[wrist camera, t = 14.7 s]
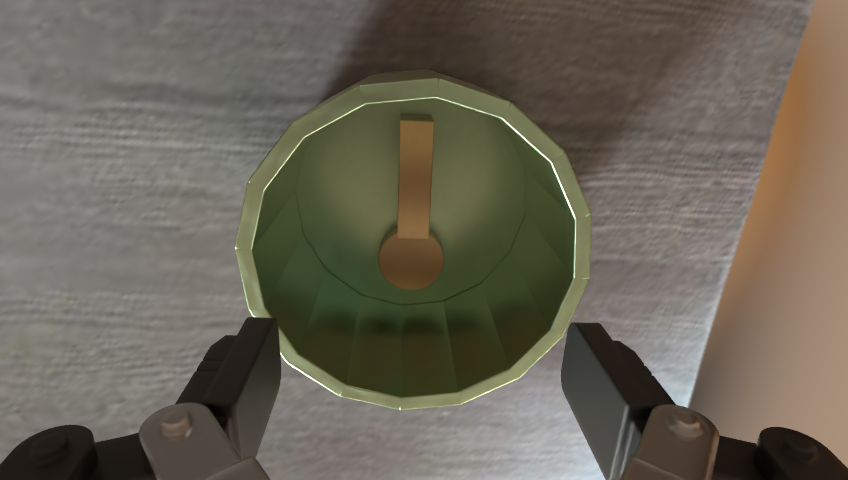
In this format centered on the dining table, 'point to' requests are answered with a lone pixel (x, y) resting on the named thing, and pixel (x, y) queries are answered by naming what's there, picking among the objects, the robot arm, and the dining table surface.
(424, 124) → the spoon
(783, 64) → the dining table surface
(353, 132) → the tin
